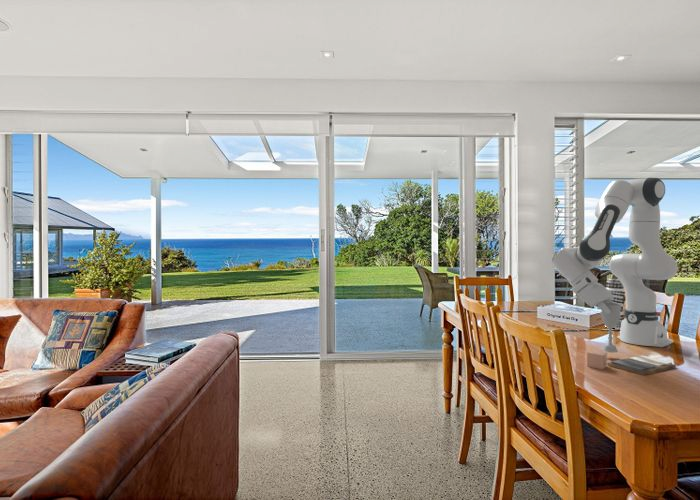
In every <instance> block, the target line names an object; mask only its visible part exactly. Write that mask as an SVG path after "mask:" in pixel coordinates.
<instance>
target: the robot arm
mask: <svg viewBox="0 0 700 500" xmlns="http://www.w3.org/2000/svg"><path fill="white" fill-rule="evenodd" d="M665 194H666V184H665V182H663V181H662V179H660V178H658V177H647V178H646V177H645V178H634V179H629V180H624V179H616V180H613V181H612V182H610V183H609V184H608V185H607V187H606V188H605V189H604V191H602V194H601V196H600V197H599V199H598V202H597V204H596V207H595V211H594V216H595V217H596V219H597V220H596V222H595V224H594V226H593V228H592V230H591V231H590V232H589V233H588V234H587V235H585V236H584V237H583V238H582V239H581V241H580V243H579V246H575V247H567V248H566V247H562V248H560V249H559V250H558V251H556V252H555V254H554V255H553V257H552V260H551V261H552V263H551V264H553V267H554V268H555V269H556V270H557V271H558V273H559V274H560V276H562V277H563V278H565V279H566V280H567V281H568V282H569V284H570V286H571V288H572V289H571V291H572V293H574V294H577V295H578V297H579V298H580V299H582V301H584V303H585V304H587V306H589V307H591V308H593V307H597V308H599V309H600V310H601V309H602V310H603V311H605V312H606V314H609V313H611V312H612V310H611V309H610V308H608V307H607V306H606V305H605V304H604V302H607V303H613V302H612V300H611V298H613V295H612V293H611V292H610V291H609V290H608V289H606V287H605V286H604V285H603V284H602V283H600V282H598V281H599V278H597V276H596V275H595V274H594V273H592V271H591V270H592V269H594V268H596V267H598V266H599V265H600V264H601V262H602V261H603V260H604V258H605V257H606V256H607V255H608V254H609V252H610V250H611V242H610V237H611V234H612V232H613V230H614V227H615V225H616V224H618V223H619V222H621V221H622V220H623V218H624V217H625V214H626V213H627V211H628V209H629V207H630V206H631V210H630V216H629V224H628V225H629V226H628V240H629V241H630V243H632V244H633V245H635V246H638V247H639V248H640V250H641V253H619V254H615V255H613V256H612V257H611V258H610V260H609V263H608V264H609V265H608V267H609V271H610V272H611V274H612V275H613V276H615V277H616V279H619V280H620V281H621V283H622V285H623V287H624V292H625V294H624V295H625V297H624V298H625V309H624V308H623V315H624V317H623V318H624V320H622V322H621V329H619V330H620V331H619V332H620V333H619V334H618V335H617V336H616V338H617V339H619V340H620V341H621V342H622V343H627V344H631V345H637V346H646V347H658V348H663V347H664V348H665V347H667V346H668V345H669V346H670V344H673V343H674V339H671V338H668V332H667V328H666V326H664V325H663V324H662V323H661V322H660V321H659V317H661V316H662V312H661V311H657V295H656V292H654V290H653V289H651V288H649V287H648V286H646V285H645V284H644V282H643V280H652V281H653V280H654V281H663V280H664V281H665V280H672V279H673V278H674V277H675V276H676V275H677V273H678V269H679V266H678V262H677V261H676V259H675V258H674V257H672V256H671V255H669V254H668V253H667V252H666V250H665V249H664V247H663V246H662V243H661V235H660V234H661V233H660V232H661V231H660V230H661V209H660V204H659V203H660V202H661V201H662V200H663V199H664V197H665Z"/></svg>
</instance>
